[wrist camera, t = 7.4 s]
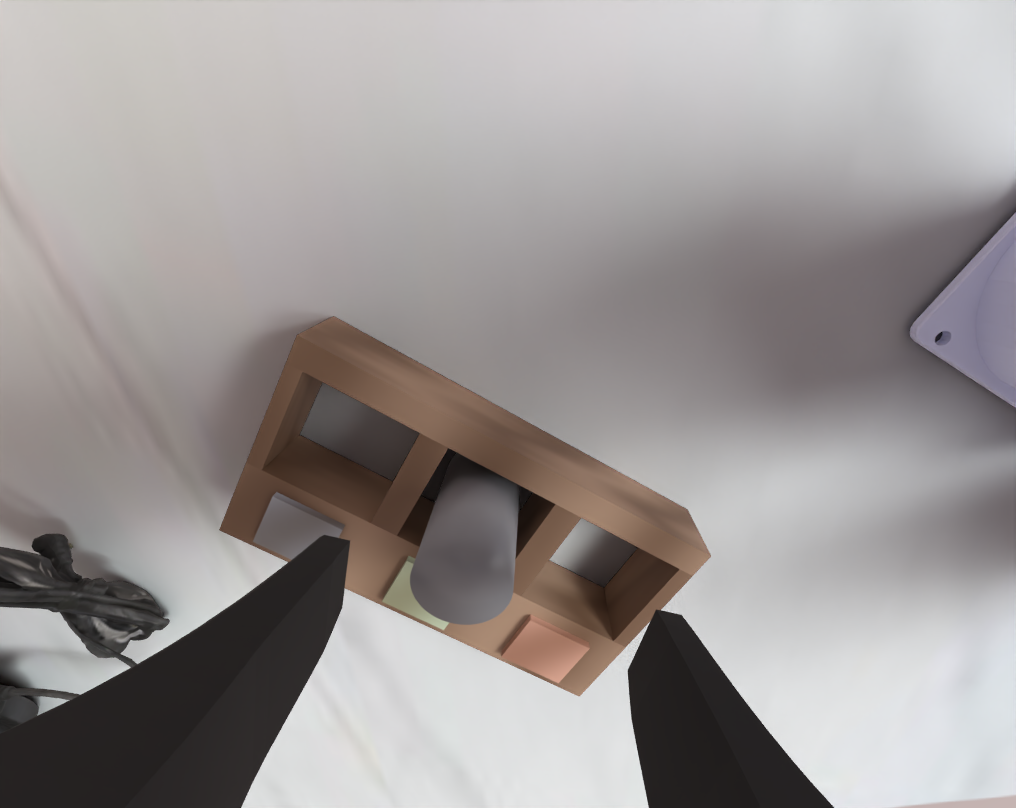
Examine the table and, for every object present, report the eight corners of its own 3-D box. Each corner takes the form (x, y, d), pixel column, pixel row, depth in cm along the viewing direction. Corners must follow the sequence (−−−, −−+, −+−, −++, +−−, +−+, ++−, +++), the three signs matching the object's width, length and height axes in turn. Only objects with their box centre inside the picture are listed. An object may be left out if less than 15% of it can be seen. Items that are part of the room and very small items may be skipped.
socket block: (687, 509, 20) (713, 561, 17) (574, 639, 24) (580, 703, 21) (333, 316, 18) (292, 337, 15) (260, 488, 21) (214, 535, 18)
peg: (525, 450, 20) (520, 551, 14) (514, 514, 21) (505, 631, 15) (450, 439, 20) (413, 534, 14) (443, 503, 21) (406, 616, 15)
